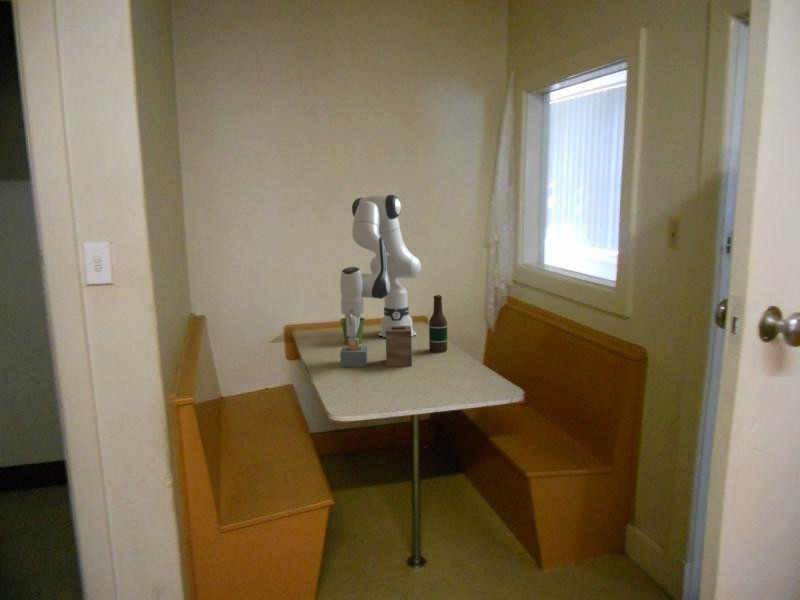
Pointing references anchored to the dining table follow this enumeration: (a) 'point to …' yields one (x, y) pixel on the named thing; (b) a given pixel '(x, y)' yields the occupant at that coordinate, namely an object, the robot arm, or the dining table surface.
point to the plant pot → (359, 332)
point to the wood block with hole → (398, 346)
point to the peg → (353, 347)
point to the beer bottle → (438, 327)
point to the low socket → (353, 357)
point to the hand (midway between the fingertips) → (353, 342)
